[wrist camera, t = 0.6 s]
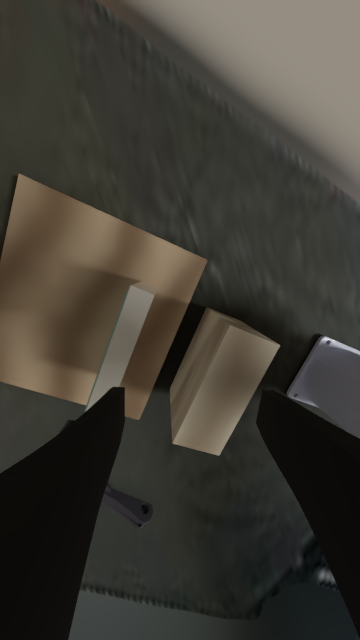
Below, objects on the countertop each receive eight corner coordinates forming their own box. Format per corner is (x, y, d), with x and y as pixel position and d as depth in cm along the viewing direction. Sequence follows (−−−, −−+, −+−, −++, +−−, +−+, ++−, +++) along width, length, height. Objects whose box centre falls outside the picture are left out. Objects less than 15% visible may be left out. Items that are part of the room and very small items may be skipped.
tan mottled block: (240, 320, 20) (280, 345, 13) (201, 398, 22) (219, 455, 15) (206, 306, 19) (229, 325, 12) (169, 388, 21) (172, 443, 14)
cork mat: (205, 260, 18) (207, 260, 17) (140, 413, 21) (139, 420, 20) (28, 179, 15) (18, 173, 14) (-14, 369, 19) (-24, 374, 18)
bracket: (122, 535, 27) (117, 565, 24) (19, 499, 24) (0, 528, 21) (181, 465, 25) (183, 489, 22) (77, 415, 22) (64, 435, 19)
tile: (157, 287, 17) (154, 294, 11) (121, 379, 19) (103, 426, 13) (140, 280, 17) (128, 284, 11) (105, 375, 19) (79, 420, 13)
